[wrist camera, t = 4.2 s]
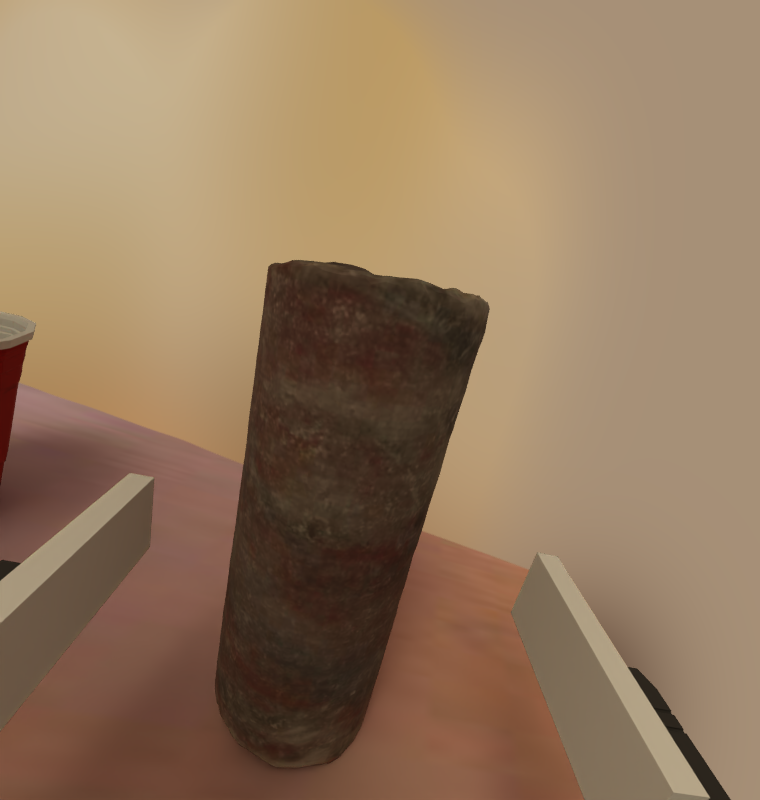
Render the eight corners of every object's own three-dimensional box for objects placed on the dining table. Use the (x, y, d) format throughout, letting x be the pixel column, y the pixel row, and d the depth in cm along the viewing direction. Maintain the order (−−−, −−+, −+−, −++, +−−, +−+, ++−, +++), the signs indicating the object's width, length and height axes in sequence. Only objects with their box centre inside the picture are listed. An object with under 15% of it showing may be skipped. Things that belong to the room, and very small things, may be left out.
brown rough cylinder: (182, 785, 15) (255, 237, 9) (225, 617, 22) (284, 241, 15) (374, 779, 17) (556, 315, 10) (359, 625, 23) (463, 287, 17)
